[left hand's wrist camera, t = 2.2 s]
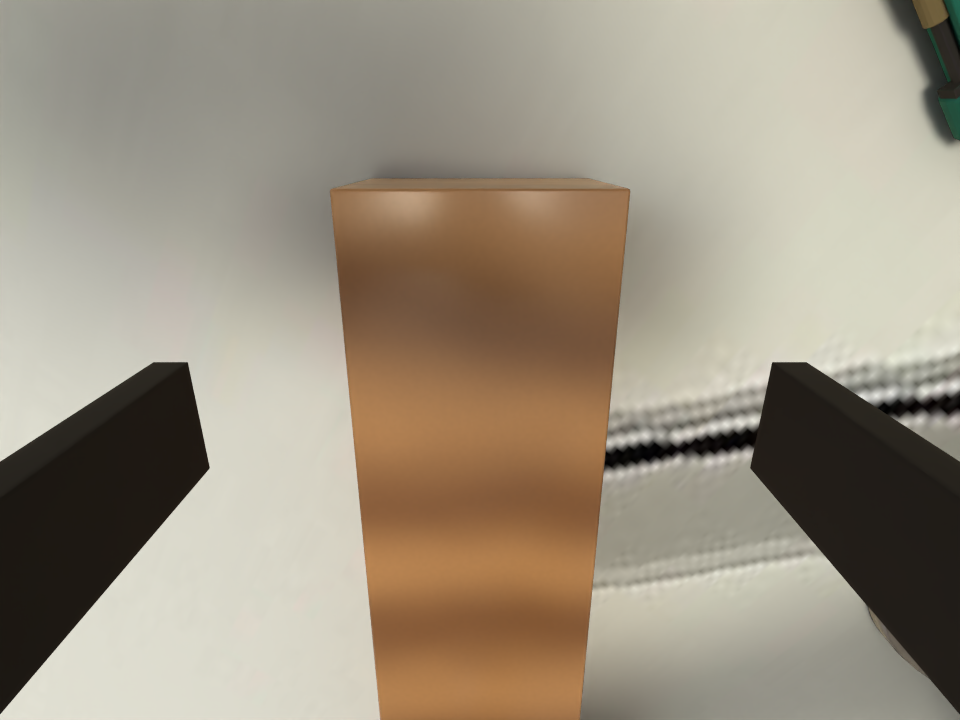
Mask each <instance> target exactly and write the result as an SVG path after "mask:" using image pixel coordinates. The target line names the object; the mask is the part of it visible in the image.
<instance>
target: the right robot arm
mask: <svg viewBox="0 0 960 720" xmlns="http://www.w3.org/2000/svg"><path fill="white" fill-rule="evenodd" d="M868 608H869V607H868ZM869 612H870V615H871V617H872V620H873V621H874V623H875V625H876V627H877V628H878V629H879V631H880V632H881V633H882V635H883V636H884V637H885V638H886V639H887V641H888V642H889V643H890V644H891V645H892V647H893V648H894V649H895V650H896V651H897V652H898V653H899V654H900V655H901V656H902V658H904V659H905V660H906V661H907V662H909V663H910V664H911V665H912V666H913V667H914V668H915V669H916V670H918V671H919V672H921V673H922V674H923V675H925V676H926V677H928V676H927V675H926V674H925V673H924V672H923V670H922V669H921V668H920V667H919V666H918V665H917V663H916V662H915V661H914V660H913V659H912V657H911V656H910V655H909V654H908V653H907V652H906V650H905V649H904V648H903V647H902V646H901V645H900V643H899V642H898V641H897V640H896V639H895V637H894V636H893V635H892V634H891V633H890V632H889V630H888V629H887V628H886V627H885V626H884V625H883V623H882V622H881V621H880V620H879V619H878V618H877V616H876V615H875V614H874V613H873V612H872V610H871V609H870V608H869ZM928 678H929V677H928Z"/></svg>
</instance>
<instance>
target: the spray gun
mask: <svg viewBox="0 0 960 720" xmlns="http://www.w3.org/2000/svg"><path fill="white" fill-rule="evenodd" d="M912 2H913V5H914V7H915V10H916V12H917V15H918V17H919V20H920V22H921V25H922V27H923V28H924V29H927V31H928V34H929V36H930V39H931V41H932V44H933V46H934V49H935V51H936V54H937V56H938V59H939V61H940V64H941V66H942V69H943V71H944V74H945V76H946V79H947V81H948V83H947V84H946V85H944V86H943V87H941V88H940V89H938V90H937V92H938V94H939V98H938V101H939V103H940V106H941V108H942V111H943V113H944V115H945V118H946V120H947V123H948V125H949V128H950V130H951V133H952V135H953V137H954V138H955V139H957V140H960V0H912Z"/></svg>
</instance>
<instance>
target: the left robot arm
mask: <svg viewBox="0 0 960 720" xmlns="http://www.w3.org/2000/svg"><path fill="white" fill-rule="evenodd" d="M209 468H210V467H209V462H208V457H207V453H206V448H205V443H204V438H203V434H202V429H201V424H200V419H199V414H198V410H197V405H196V400H195V395H194V390H193V386H192V381H191V376H190V371H189V366H188V362H153V363H152V364H150V365H149V366H147V367H146V368H144V369H143V370H141V371H140V372H138V373H136V374H135V375H133V376H132V377H130V378H129V379H127V380H126V381H124V382H123V383H121V384H119V385H118V386H116V387H115V388H113V389H112V390H110V391H109V392H107V393H106V394H104V395H102V396H101V397H99V398H98V399H96V400H95V401H93V402H92V403H90V404H89V405H87V406H86V407H84V408H82V409H81V410H79V411H78V412H76V413H75V414H73V415H72V416H70V417H69V418H67V419H65V420H64V421H62V422H61V423H59V424H58V425H56V426H55V427H53V428H52V429H50V430H48V431H47V432H45V433H44V434H42V435H41V436H39V437H38V438H36V439H35V440H33V441H32V442H30V443H28V444H27V445H25V446H24V447H22V448H21V449H19V450H18V451H16V452H15V453H13V454H11V455H10V456H8V457H7V458H5V459H4V460H2V461H1V462H0V714H1V713H2V711H3V710H4V709H5V708H6V707H7V706H8V704H9V703H10V702H11V701H12V700H13V699H14V697H15V696H16V695H17V694H18V693H19V692H20V690H21V689H22V688H23V687H24V686H25V684H26V683H27V682H28V681H29V680H30V679H31V677H32V676H33V675H34V674H35V673H36V672H37V670H38V669H39V668H40V667H41V666H42V665H43V663H44V662H45V661H46V660H47V659H48V657H49V656H50V655H51V654H52V653H53V652H54V650H55V649H56V648H57V647H58V646H59V645H60V643H61V642H62V641H63V640H64V639H65V637H66V636H67V635H68V634H69V633H70V632H71V630H72V629H73V628H74V627H75V626H76V625H77V623H78V622H79V621H80V620H81V619H82V618H83V616H84V615H85V614H86V613H87V612H88V610H89V609H90V608H91V607H92V606H93V605H94V603H95V602H96V601H97V600H98V599H99V598H100V596H101V595H102V594H103V593H104V592H105V591H106V589H107V588H108V587H109V586H110V585H111V583H112V582H113V581H114V580H115V579H116V578H117V576H118V575H119V574H120V573H121V572H122V571H123V569H124V568H125V567H126V566H127V565H128V564H129V562H130V561H131V560H132V559H133V558H134V556H135V555H136V554H137V553H138V552H139V551H140V549H141V548H142V547H143V546H144V545H145V544H146V542H147V541H148V540H149V539H150V538H151V537H152V535H153V534H154V533H155V532H156V531H157V529H158V528H159V527H160V526H161V525H162V524H163V522H164V521H165V520H166V519H167V518H168V517H169V515H170V514H171V513H172V512H173V511H174V510H175V508H176V507H177V506H178V505H179V504H180V502H181V501H182V500H183V499H184V498H185V497H186V495H187V494H188V493H189V492H190V491H191V490H192V488H193V487H194V486H195V485H196V484H197V483H198V481H199V480H200V479H201V478H202V477H203V475H204V474H205V473H206V472H207V471H208V470H209ZM750 468H751V470H752V471H753V472H754V473H755V474H756V475H757V477H758V478H759V479H760V480H761V481H762V483H763V484H764V485H765V486H766V487H767V488H768V490H769V491H770V492H771V493H772V494H773V495H774V497H775V498H776V499H777V500H778V501H779V502H780V504H781V505H782V506H783V507H784V508H785V510H786V511H787V512H788V513H789V514H790V515H791V517H792V518H793V519H794V520H795V521H796V522H797V524H798V525H799V526H800V527H801V528H802V529H803V531H804V532H805V533H806V534H807V535H808V537H809V538H810V539H811V540H812V541H813V542H814V544H815V545H816V546H817V547H818V548H819V549H820V551H821V552H822V553H823V554H824V555H825V556H826V558H827V559H828V560H829V561H830V562H831V564H832V565H833V566H834V567H835V568H836V569H837V571H838V572H839V573H840V574H841V575H842V576H843V578H844V579H845V580H846V581H847V582H848V583H849V585H850V586H851V587H852V588H853V589H854V591H855V592H856V593H857V594H858V595H859V596H860V598H861V599H862V600H863V601H864V602H865V603H866V605H867V606H868V607H869V608H870V609H871V610H872V612H873V613H874V614H875V615H876V616H877V618H878V619H879V620H880V621H881V622H882V623H883V625H884V626H885V627H886V628H887V629H888V630H889V632H890V633H891V634H892V635H893V636H894V637H895V639H896V640H897V641H898V642H899V643H900V645H901V646H902V647H903V648H904V649H905V650H906V652H907V653H908V654H909V655H910V656H911V657H912V659H913V660H914V661H915V662H916V663H917V665H918V666H919V667H920V668H921V669H922V670H923V672H924V673H925V674H926V675H927V676H928V677H929V679H930V680H931V681H932V682H933V683H934V684H935V686H936V687H937V688H938V689H939V690H940V692H941V693H942V694H943V695H944V696H945V697H946V699H947V700H948V701H949V702H950V703H951V704H952V706H953V707H954V708H955V709H956V710H957V711H958V713H959V714H960V462H959V461H958V460H956V459H955V458H953V457H952V456H950V455H949V454H947V453H945V452H944V451H942V450H941V449H939V448H938V447H936V446H935V445H933V444H932V443H930V442H928V441H927V440H925V439H924V438H922V437H921V436H919V435H918V434H916V433H915V432H913V431H912V430H910V429H908V428H907V427H905V426H904V425H902V424H901V423H899V422H898V421H896V420H895V419H893V418H891V417H890V416H888V415H887V414H885V413H884V412H882V411H881V410H879V409H878V408H876V407H874V406H873V405H871V404H870V403H868V402H867V401H865V400H864V399H862V398H861V397H859V396H858V395H856V394H854V393H853V392H851V391H850V390H848V389H847V388H845V387H844V386H842V385H841V384H839V383H837V382H836V381H834V380H833V379H831V378H830V377H828V376H827V375H825V374H824V373H822V372H820V371H819V370H817V369H816V368H814V367H813V366H811V365H810V364H808V363H807V362H772V366H771V371H770V376H769V381H768V386H767V390H766V395H765V400H764V405H763V410H762V414H761V419H760V424H759V429H758V434H757V438H756V443H755V448H754V453H753V457H752V462H751V467H750Z"/></svg>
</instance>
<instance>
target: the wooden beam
mask: <svg viewBox="0 0 960 720" xmlns="http://www.w3.org/2000/svg"><path fill="white" fill-rule="evenodd" d="M330 197H331V207H332V217H333V228H334V238H335V249H336V259H337V270H338V280H339V291H340V301H341V312H342V322H343V333H344V343H345V354H346V364H347V375H348V385H349V396H350V406H351V417H352V427H353V438H354V448H355V459H356V469H357V480H358V490H359V501H360V511H361V522H362V532H363V543H364V553H365V564H366V574H367V584H368V595H369V605H370V616H371V626H372V637H373V647H374V658H375V668H376V679H377V689H378V700H379V710H380V720H580V712H581V702H582V691H583V681H584V670H585V660H586V649H587V639H588V628H589V618H590V607H591V597H592V586H593V576H594V565H595V555H596V545H597V534H598V524H599V513H600V503H601V492H602V482H603V471H604V461H605V450H606V440H607V429H608V419H609V408H610V398H611V388H612V377H613V367H614V356H615V346H616V335H617V325H618V314H619V304H620V293H621V283H622V272H623V262H624V251H625V241H626V231H627V220H628V210H629V199H630V189H628V188H624V187H620V186H616V185H612V184H608V183H604V182H600V181H596V180H592V179H589V178H372V179H368V180H364V181H360V182H356V183H352V184H348V185H344V186H340V187H336V188H333V189H331V190H330Z"/></svg>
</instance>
